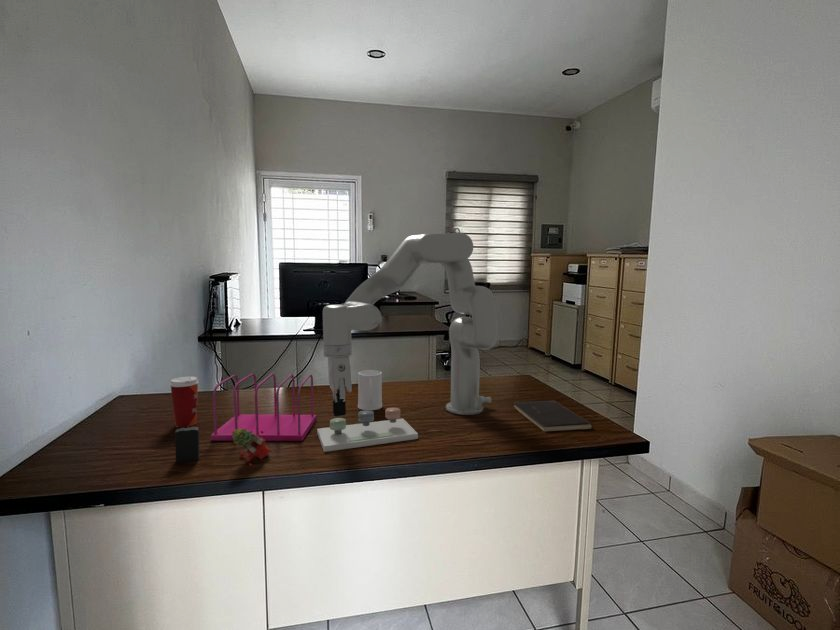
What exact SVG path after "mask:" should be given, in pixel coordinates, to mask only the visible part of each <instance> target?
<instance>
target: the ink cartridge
mask: <svg viewBox="0 0 840 630" xmlns="http://www.w3.org/2000/svg"><path fill="white" fill-rule="evenodd" d="M174 434H175V435H174V437H175V438H174V439H175V441H174V442H175V463H177V464H181V463H182V464H183V463H189V462H196V461H199V458H200V429H199V427H198V426H191V427H187V428H177V429H175V432H174Z"/></svg>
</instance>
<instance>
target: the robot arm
mask: <svg viewBox="0 0 840 630" xmlns="http://www.w3.org/2000/svg"><path fill="white" fill-rule="evenodd" d="M473 251H474V242H473V240H472V238H471V237H470V236H469V235H468V234H466V233H463V232H451V233H422V234H421V233H420V234H413V235H409V236H406V238H405V239H403V240H402V242H401V243H400V244H399V246H397V248H396V249H395V250H394V251H393V253H392V254H391V255H390V257H389V258H388V259H387V261H386V262H385V263H384V264H383V265H382V267H381V268H379V270H378V271H376V272H375V273H373V274H372V275H371V276H369V278H367V279H366V280H364V281H363V282H361V284H359V285H358V286H357V287H356V288H355V289H354V291H353V292H352V293H351V294H350V295H349V297H348V298H347V299H346V300H345V302H344V303H343V304H328V305H325V306H324V307H323V309H322V333H323V334H322V337H323V357H325V358H327V374H328V375H327V376H328V377H327V378H328V386H329V387H330V389H331V392H332V412H333V413H332V415H333V416H334V417H341V416H345V415H346V413H347V412H346V411H347V408H346V405H347V404H346V391H347V392H348V393H351V392H352V390H353V388H352V386H353V385H352V373H351V372H352V370H351V361H350V357H351V356H352V355H353V354H352V352H353V349H352V348H353V346H352V344H353V343H352V342H353V341H352V331H371V330H374V329H375V328H377V327H378V326H379V325H380V323H381V320H382V314H381V311H380V310H379V308H378V307H377V306H375V305H374V304H375V303H376V302H378V301H379V300H380V299H383V298H384V297H387V296H388V295H391V294H393V293H396V292H398V291H400V290H402V289H403V288H404V287H405V286H406V284H407V283H408V282H409V280H410V279H411V277H412V276H413V275H414V274H415V273H416V271H417V270H418V269H419V267H420V266H421V265H422V264H440V265H441V266H442V267H443V268H444V271H445V273H446V278H447V284H448V293H449V294H448V295H449V303H450V307H451V309H452V311H454V312H455V313H456V314H457V313H458V314H462V315H469V316H471V317H469V316H460V317H456V318H455V319H454V320H453V321H452V322H451V323H450V326H449V328H448V329H449V330H448V337H449V342H450V348H451V350H450V352H451V353H450V354H451V357H450V358H451V361H450V362H451V363H450V364H451V365H450V402H448V403H446V404H445V410H446V411H448V412H449V413H452V414H455V415H460V416H474V415H478V414H480V413H482V412H483V411H484V406H483V405H484V404H485V403H486V404H487V403H489V404H490V403H492V397H491V396H484V395H480V367H481V366H480V365H481V362H480V361H481V360H480V359H481V358H480V352H479V350H484V351H485V350H490V349H492V348H493V347H494V346H495V345H496V343H497V341H498V337H499V329H498V328H499V324H498V316H497V315H498V314H497V303H496V298H495V296H494V294H493V292H492V291H491V289H489V288H488V287H486V286H482V285H476V283H475V277H474V271H473V270H474V269H473V267H472V264H471V262H470V259H469V258H470V257H471V256H472V254H473Z"/></svg>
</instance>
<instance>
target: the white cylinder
mask: <svg viewBox="0 0 840 630" xmlns="http://www.w3.org/2000/svg"><path fill="white" fill-rule="evenodd" d="M357 377H358V379H357V383H358V385H357V386H358V387H357V389H358V390H357V392H358V395H357V398H358V401H357V402H358V403H357V408H358V409H360V410H361V411H365V410H368V411H375V410H380V409H381V408H383V399H382V398H383V395H382V394H383V392H382V391H383V380H382V379H383V372H382V371H380V370H378V369H377V370H376V369H365V370H361V371H359V372H357Z"/></svg>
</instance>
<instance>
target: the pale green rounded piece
mask: <svg viewBox="0 0 840 630" xmlns="http://www.w3.org/2000/svg"><path fill="white" fill-rule="evenodd" d="M346 425H347V419H346V418H343V417H335V418H331V419H330V420H329V427H330V429H331V430H334V433H335V434H341V433H342V430H343V429H345V428H346Z"/></svg>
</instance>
